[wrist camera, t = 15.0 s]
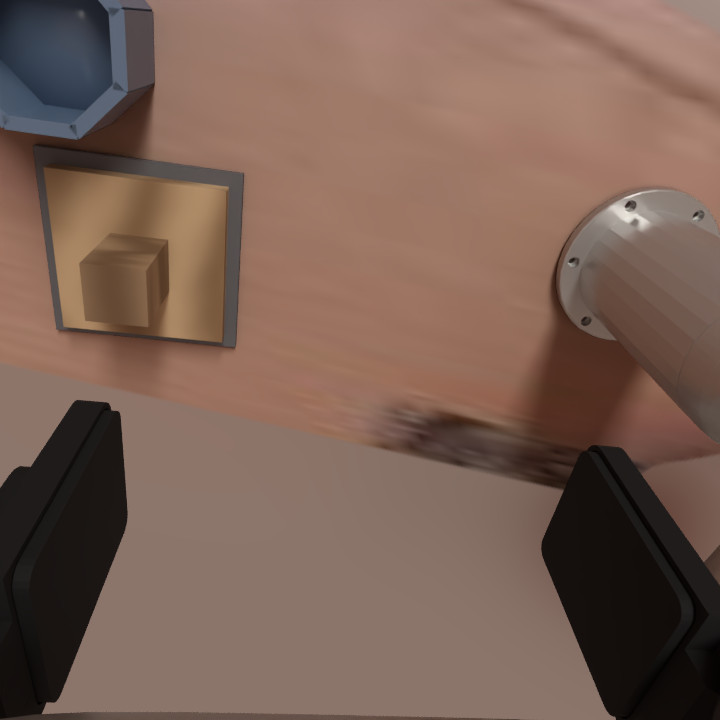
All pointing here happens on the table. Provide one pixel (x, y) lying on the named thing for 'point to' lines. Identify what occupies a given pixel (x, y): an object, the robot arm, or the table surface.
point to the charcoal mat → (159, 170)
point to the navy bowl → (72, 63)
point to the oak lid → (139, 252)
